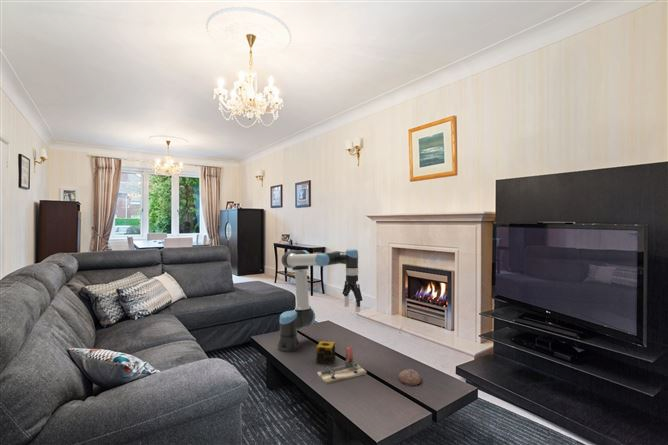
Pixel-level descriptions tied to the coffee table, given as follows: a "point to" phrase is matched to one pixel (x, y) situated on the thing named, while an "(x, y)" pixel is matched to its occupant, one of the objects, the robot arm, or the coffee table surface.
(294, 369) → the coffee table surface
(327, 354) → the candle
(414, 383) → the decorative stone
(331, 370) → the rail
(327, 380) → the board
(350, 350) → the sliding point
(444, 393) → the coffee table surface
